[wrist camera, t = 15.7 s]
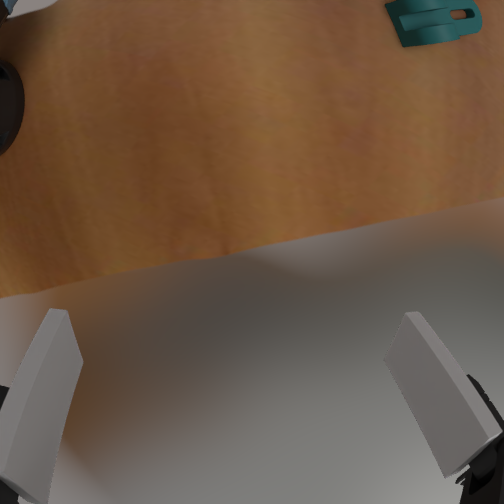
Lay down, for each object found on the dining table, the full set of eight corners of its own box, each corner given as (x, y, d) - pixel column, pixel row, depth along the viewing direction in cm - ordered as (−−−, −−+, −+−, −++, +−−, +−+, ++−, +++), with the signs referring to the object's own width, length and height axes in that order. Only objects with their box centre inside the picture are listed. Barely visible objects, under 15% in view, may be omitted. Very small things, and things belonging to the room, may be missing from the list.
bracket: (402, 47, 34) (435, 44, 27) (384, 4, 31) (415, -6, 24) (477, 31, 32) (511, 31, 25) (464, -5, 29) (496, -10, 22)
